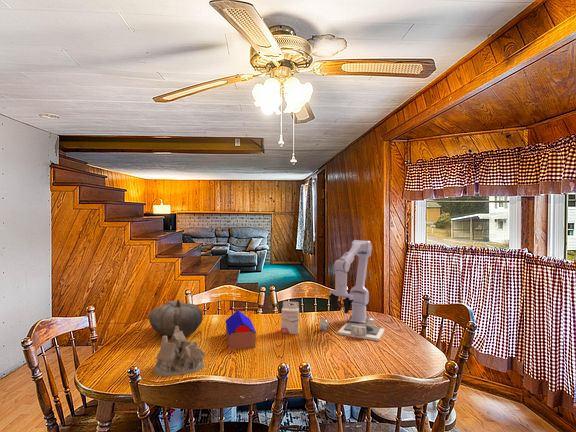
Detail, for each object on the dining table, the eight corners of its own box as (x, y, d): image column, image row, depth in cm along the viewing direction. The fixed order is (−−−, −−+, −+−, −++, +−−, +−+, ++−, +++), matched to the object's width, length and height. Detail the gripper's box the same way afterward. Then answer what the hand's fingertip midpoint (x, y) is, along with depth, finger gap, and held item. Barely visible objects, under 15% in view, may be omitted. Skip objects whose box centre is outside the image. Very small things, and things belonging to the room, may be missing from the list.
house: (228, 350, 150) (229, 323, 150) (225, 334, 169) (225, 310, 169) (256, 348, 153) (256, 321, 153) (249, 332, 172) (250, 309, 172)
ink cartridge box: (280, 333, 171) (281, 303, 171) (281, 330, 176) (282, 301, 176) (298, 334, 170) (298, 304, 170) (298, 330, 175) (299, 301, 175)
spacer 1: (321, 327, 180) (321, 318, 180) (329, 329, 178) (329, 319, 178) (318, 330, 176) (318, 320, 176) (326, 331, 174) (327, 321, 174)
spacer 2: (375, 328, 174) (375, 318, 174) (373, 330, 170) (373, 320, 170) (366, 326, 176) (366, 317, 176) (364, 329, 172) (364, 319, 172)
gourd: (143, 339, 153) (148, 299, 156) (149, 330, 177) (153, 295, 180) (201, 340, 160) (205, 302, 163) (199, 331, 184) (203, 297, 186)
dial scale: (345, 325, 184) (346, 315, 184) (384, 331, 176) (384, 320, 176) (337, 334, 171) (337, 323, 171) (379, 341, 162) (379, 330, 162)
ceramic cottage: (147, 370, 130) (150, 330, 130) (181, 357, 144) (184, 321, 143) (175, 385, 122) (178, 342, 121) (209, 369, 135) (212, 330, 135)
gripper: (325, 282, 178) (324, 309, 178) (346, 287, 167) (346, 316, 167) (334, 281, 183) (334, 306, 183) (356, 286, 171) (355, 313, 171)
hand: (340, 311), depth 175 cm, fingers open, 7 cm apart
